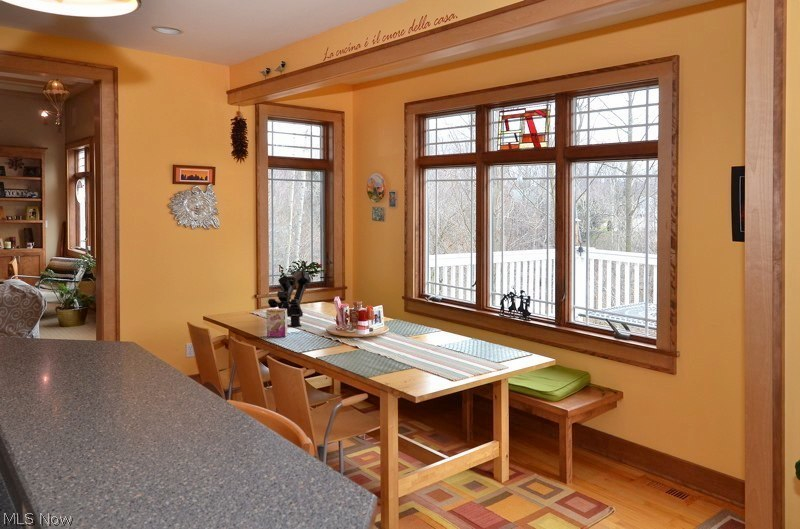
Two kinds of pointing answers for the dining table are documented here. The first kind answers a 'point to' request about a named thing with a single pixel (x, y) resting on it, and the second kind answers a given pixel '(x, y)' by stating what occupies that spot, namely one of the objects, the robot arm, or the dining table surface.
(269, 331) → the candy bar box
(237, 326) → the dining table surface
